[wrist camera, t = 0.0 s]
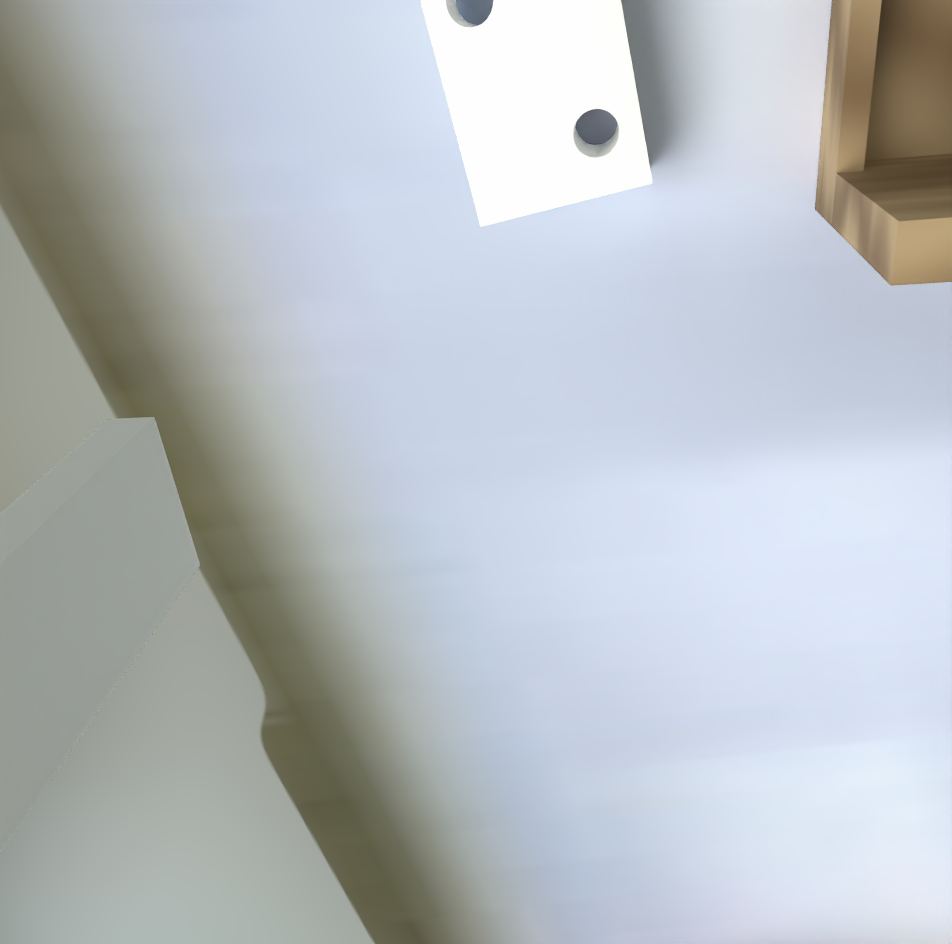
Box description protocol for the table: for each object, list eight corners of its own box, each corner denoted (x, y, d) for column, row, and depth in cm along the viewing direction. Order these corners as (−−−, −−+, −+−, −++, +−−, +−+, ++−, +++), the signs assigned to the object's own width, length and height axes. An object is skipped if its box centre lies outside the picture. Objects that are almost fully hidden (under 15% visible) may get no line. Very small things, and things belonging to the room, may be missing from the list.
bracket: (402, -129, 33) (353, -159, 26) (585, -195, 31) (580, -245, 25) (490, 208, 39) (467, 252, 32) (648, 167, 37) (658, 205, 30)
